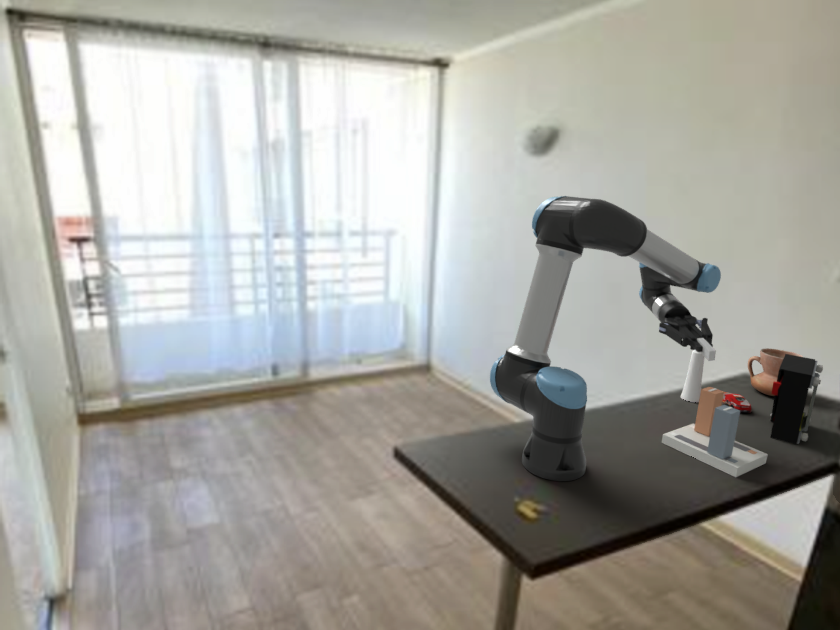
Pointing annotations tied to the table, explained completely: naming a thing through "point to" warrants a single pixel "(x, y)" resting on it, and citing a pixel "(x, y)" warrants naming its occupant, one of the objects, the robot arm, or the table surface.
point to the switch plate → (697, 448)
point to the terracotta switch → (707, 409)
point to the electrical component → (793, 398)
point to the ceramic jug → (767, 369)
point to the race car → (736, 402)
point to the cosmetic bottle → (694, 378)
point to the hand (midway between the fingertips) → (712, 355)
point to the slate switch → (723, 431)
